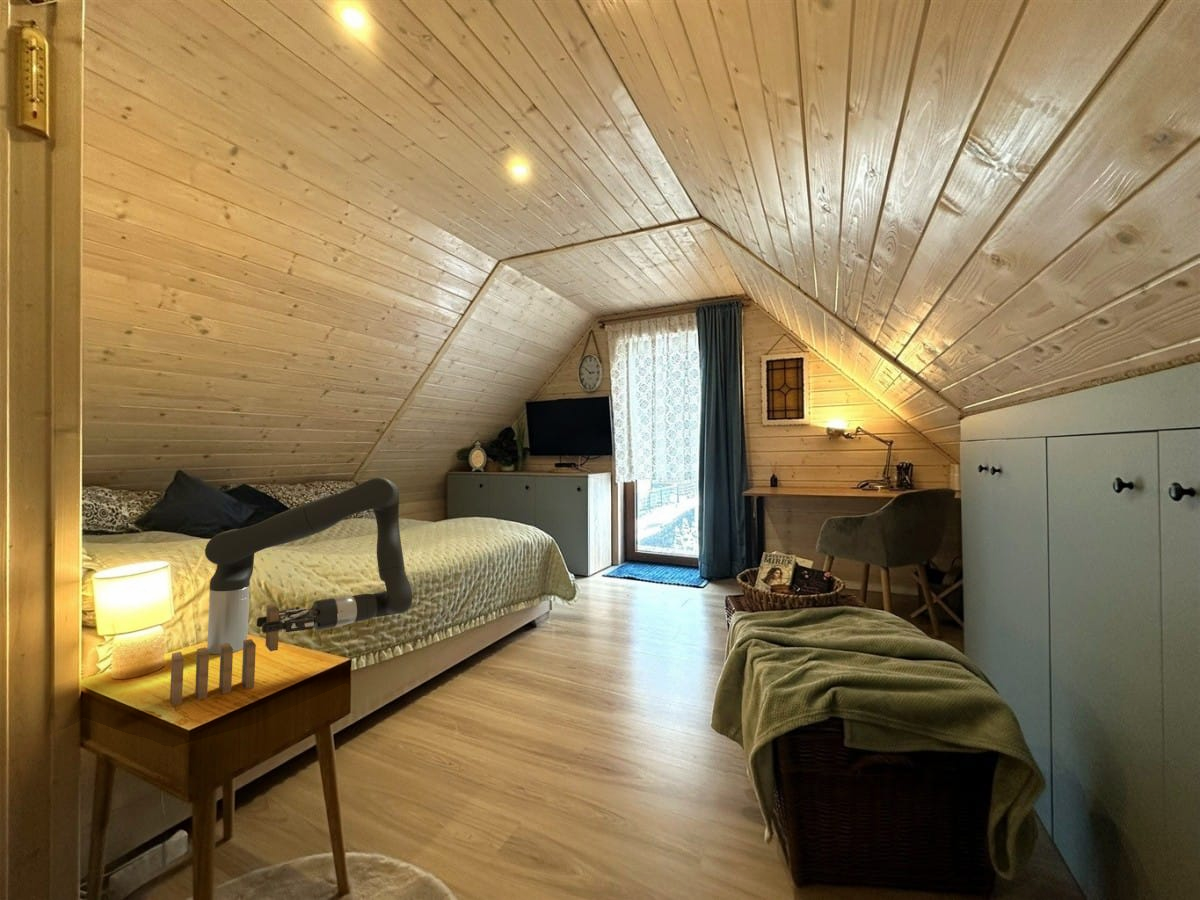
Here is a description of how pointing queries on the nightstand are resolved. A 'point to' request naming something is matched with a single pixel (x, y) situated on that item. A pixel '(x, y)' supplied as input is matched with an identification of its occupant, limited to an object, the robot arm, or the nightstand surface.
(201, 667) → the wooden domino
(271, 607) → the loose tile
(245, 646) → the tile
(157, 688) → the nightstand surface
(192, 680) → the nightstand surface
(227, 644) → the tile
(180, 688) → the tile
